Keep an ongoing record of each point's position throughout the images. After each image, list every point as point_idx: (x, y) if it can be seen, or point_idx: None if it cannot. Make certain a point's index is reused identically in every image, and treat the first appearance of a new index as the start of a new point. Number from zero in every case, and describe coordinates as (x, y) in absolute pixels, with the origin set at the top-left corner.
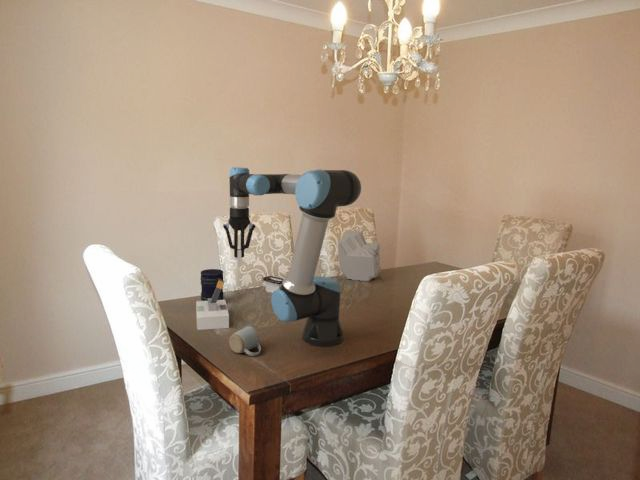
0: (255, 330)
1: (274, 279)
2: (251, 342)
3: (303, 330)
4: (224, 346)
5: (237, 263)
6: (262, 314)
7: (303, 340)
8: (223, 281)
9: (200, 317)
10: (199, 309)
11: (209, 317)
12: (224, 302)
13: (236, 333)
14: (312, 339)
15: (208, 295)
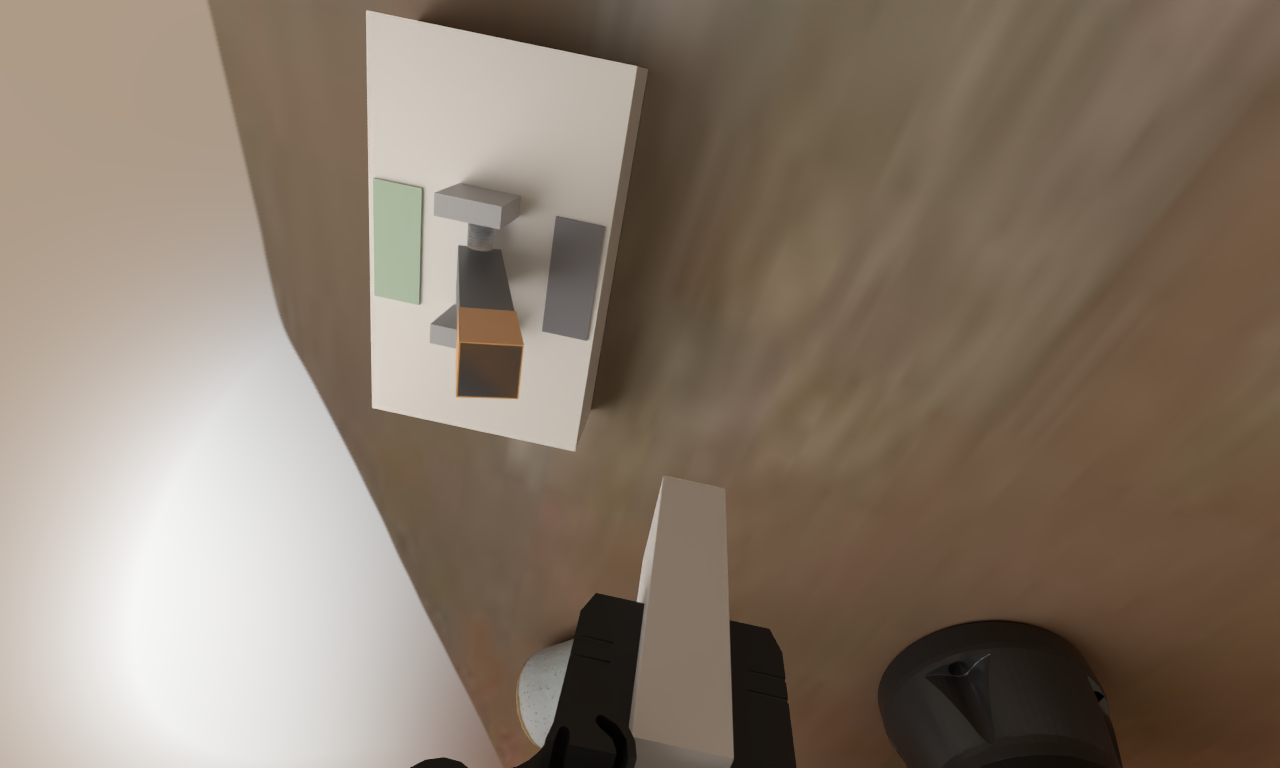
0: None
1: None
2: None
3: (906, 701)
4: (521, 593)
5: (640, 581)
6: (890, 265)
7: (880, 681)
8: (510, 375)
9: (394, 412)
10: (389, 266)
11: (452, 423)
12: (611, 151)
13: (535, 737)
14: (894, 748)
15: None
